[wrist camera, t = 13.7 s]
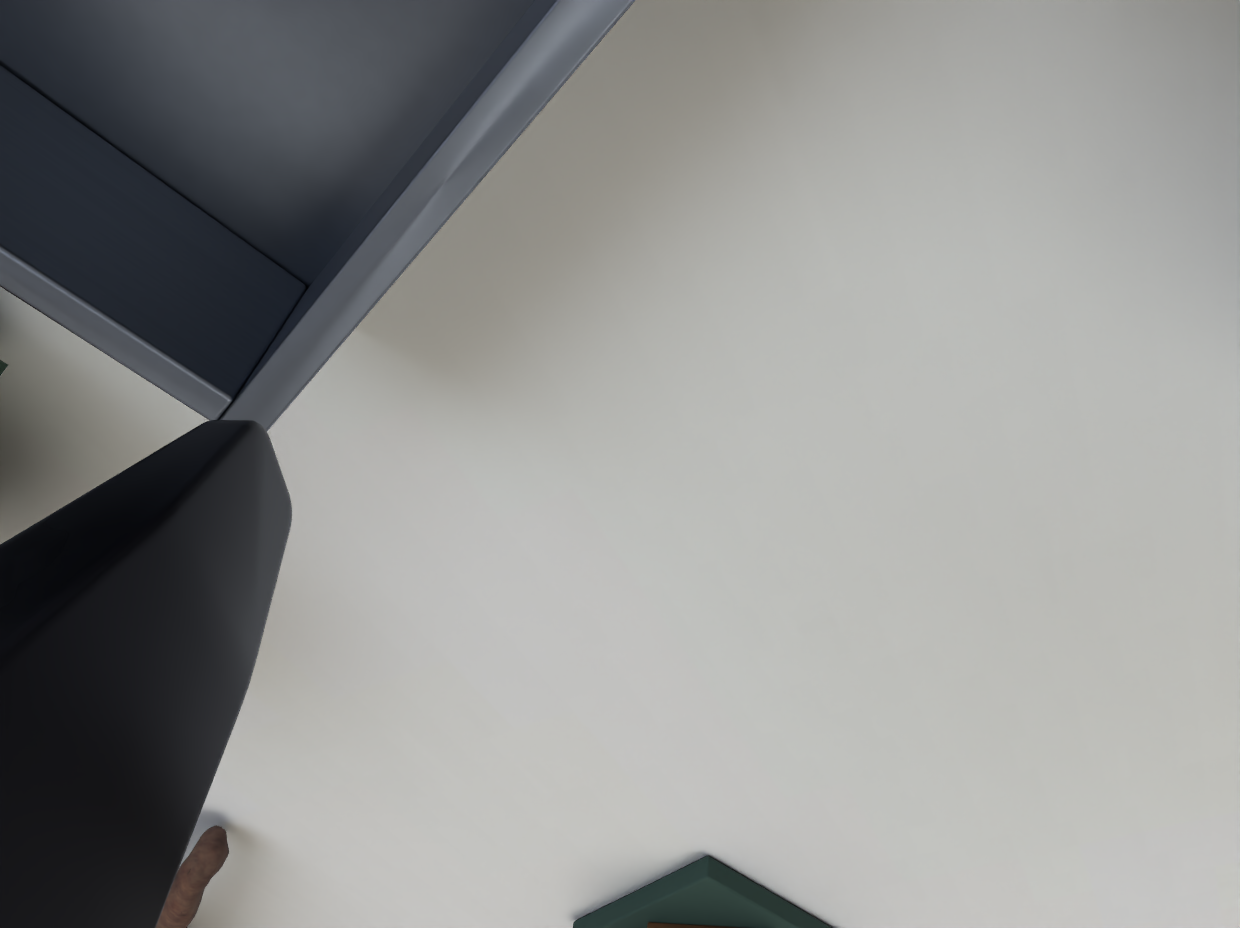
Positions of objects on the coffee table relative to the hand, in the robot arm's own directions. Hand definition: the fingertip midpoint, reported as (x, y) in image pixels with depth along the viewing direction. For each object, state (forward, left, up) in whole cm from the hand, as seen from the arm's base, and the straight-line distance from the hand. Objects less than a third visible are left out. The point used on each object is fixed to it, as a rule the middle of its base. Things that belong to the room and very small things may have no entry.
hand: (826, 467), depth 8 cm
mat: (-21, +23, -12) cm, 33 cm away
